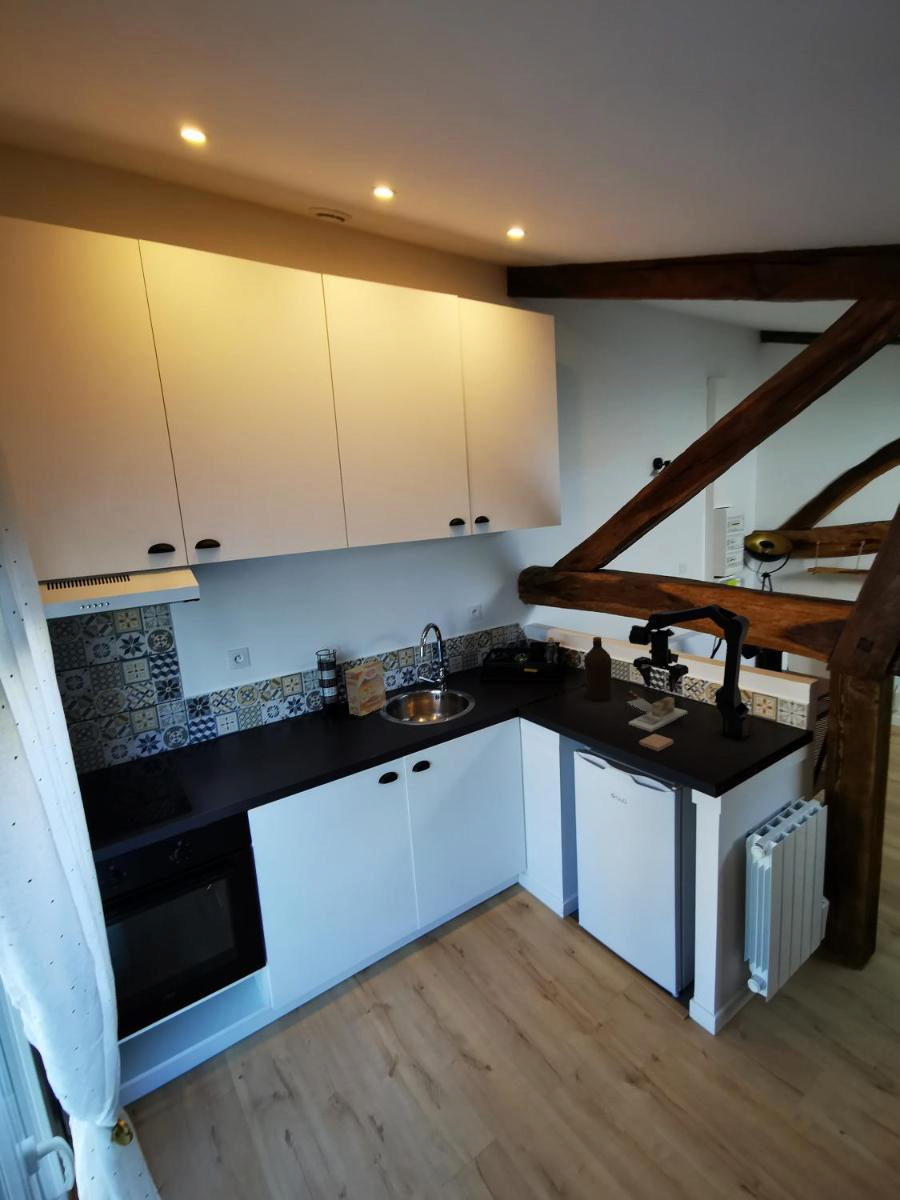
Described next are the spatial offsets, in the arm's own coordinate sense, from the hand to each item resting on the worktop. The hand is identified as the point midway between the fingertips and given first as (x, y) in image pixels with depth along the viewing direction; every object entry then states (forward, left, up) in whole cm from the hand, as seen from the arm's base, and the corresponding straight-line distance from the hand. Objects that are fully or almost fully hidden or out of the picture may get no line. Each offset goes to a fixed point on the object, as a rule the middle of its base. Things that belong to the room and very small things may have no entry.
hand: (660, 689), depth 199 cm
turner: (0, 0, -10) cm, 10 cm away
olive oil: (+29, -2, -11) cm, 31 cm away
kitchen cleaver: (+14, -7, -12) cm, 20 cm away
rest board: (0, +1, -11) cm, 11 cm away
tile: (-11, +15, -10) cm, 21 cm away
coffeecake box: (+87, +72, -11) cm, 114 cm away
